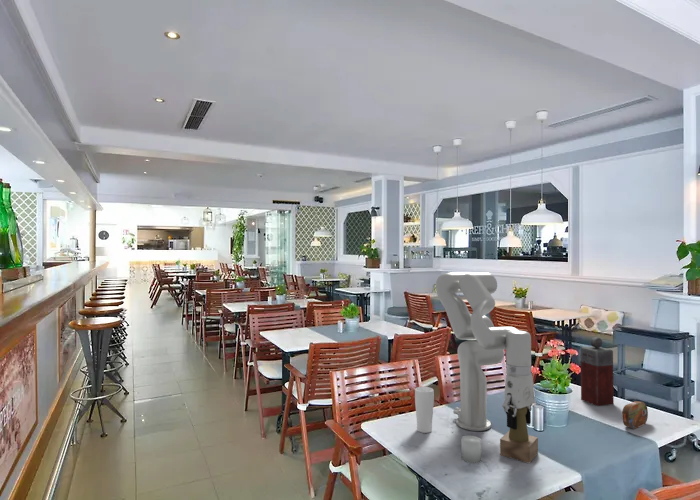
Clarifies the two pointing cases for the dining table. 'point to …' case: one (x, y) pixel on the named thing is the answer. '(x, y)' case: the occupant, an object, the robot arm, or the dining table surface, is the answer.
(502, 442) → the block
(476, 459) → the grey rounded block
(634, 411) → the tin
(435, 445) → the dining table surface
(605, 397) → the dark red canister
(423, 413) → the drinking glass
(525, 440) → the cork
